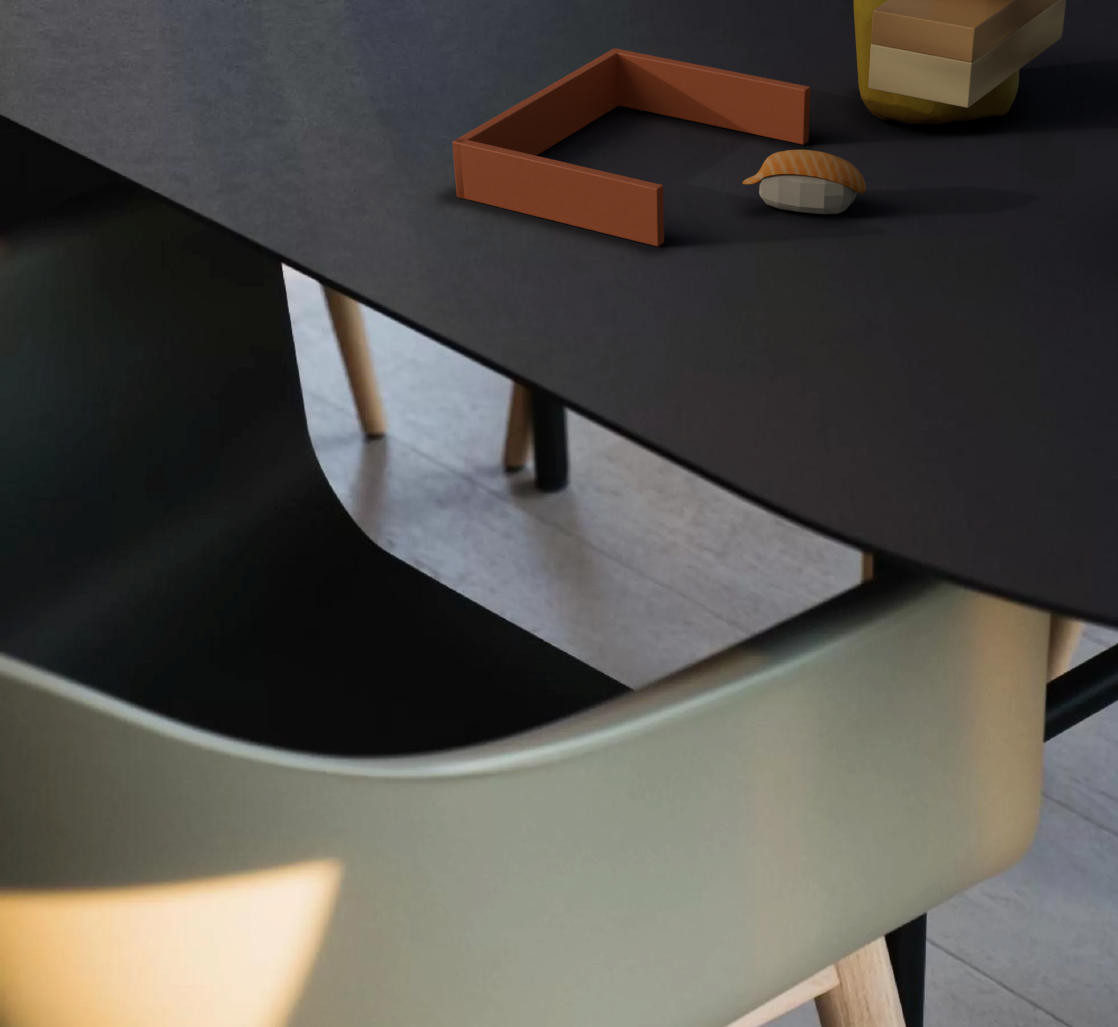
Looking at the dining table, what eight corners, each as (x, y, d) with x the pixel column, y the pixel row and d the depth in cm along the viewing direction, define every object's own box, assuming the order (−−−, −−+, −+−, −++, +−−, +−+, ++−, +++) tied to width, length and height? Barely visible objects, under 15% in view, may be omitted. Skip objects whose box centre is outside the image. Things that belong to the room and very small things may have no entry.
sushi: (858, 224, 103) (861, 166, 101) (735, 211, 105) (736, 154, 103) (870, 202, 105) (873, 145, 103) (749, 190, 107) (750, 134, 105)
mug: (1032, 119, 107) (998, -83, 104) (847, 160, 112) (808, -31, 108) (1080, 82, 117) (1050, -103, 113) (908, 122, 122) (874, -55, 118)
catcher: (809, 141, 111) (811, 86, 109) (658, 247, 102) (657, 189, 100) (615, 100, 117) (614, 47, 115) (456, 197, 108) (451, 141, 106)
